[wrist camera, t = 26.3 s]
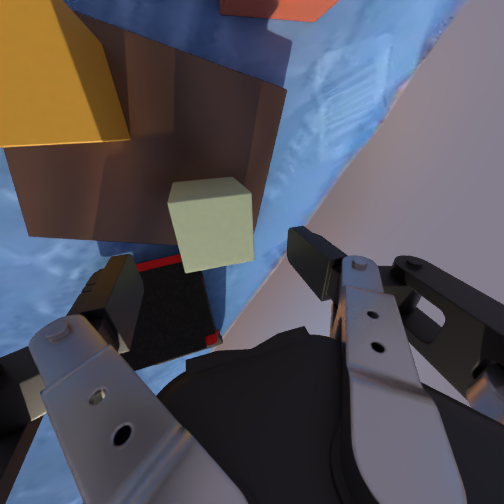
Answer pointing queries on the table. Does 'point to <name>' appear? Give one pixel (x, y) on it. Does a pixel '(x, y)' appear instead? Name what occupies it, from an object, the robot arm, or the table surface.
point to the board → (150, 145)
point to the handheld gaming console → (171, 315)
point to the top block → (54, 79)
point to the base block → (277, 9)
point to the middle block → (212, 222)
